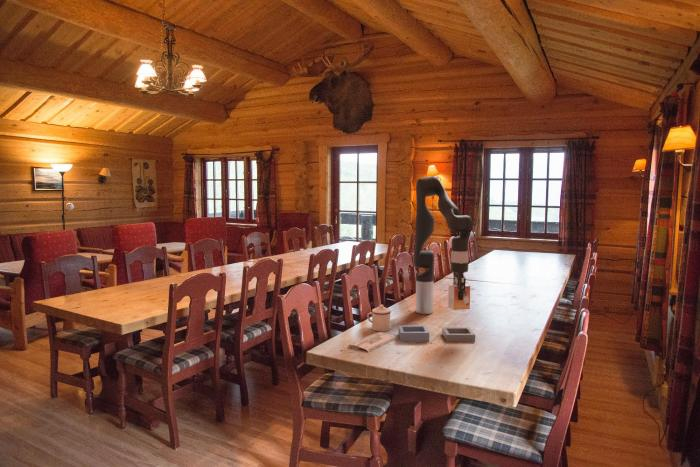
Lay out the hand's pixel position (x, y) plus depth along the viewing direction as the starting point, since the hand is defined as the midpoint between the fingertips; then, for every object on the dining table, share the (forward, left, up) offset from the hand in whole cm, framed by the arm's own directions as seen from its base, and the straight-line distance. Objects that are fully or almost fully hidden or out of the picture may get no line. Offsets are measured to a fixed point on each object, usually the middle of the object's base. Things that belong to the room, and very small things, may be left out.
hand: (458, 297), depth 209 cm
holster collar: (0, 0, -18) cm, 18 cm away
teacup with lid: (-14, -35, -18) cm, 42 cm away
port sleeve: (0, -20, -18) cm, 27 cm away
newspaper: (+6, -39, -19) cm, 44 cm away
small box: (0, 0, -5) cm, 5 cm away
